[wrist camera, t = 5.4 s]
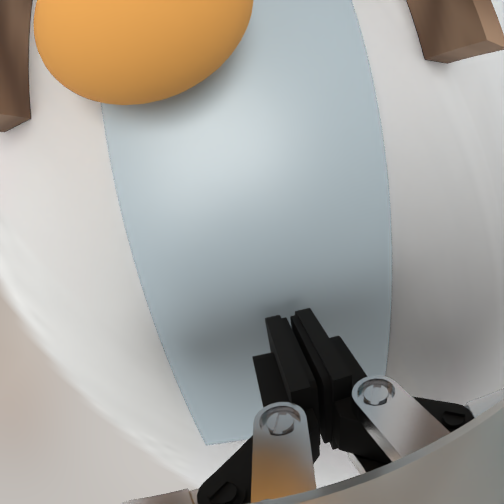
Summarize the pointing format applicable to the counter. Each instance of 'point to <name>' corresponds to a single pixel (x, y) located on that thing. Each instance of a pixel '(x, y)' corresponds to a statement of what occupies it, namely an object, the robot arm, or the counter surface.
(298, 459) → the robot arm
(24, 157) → the counter surface
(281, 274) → the lane
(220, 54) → the ball
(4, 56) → the fence
